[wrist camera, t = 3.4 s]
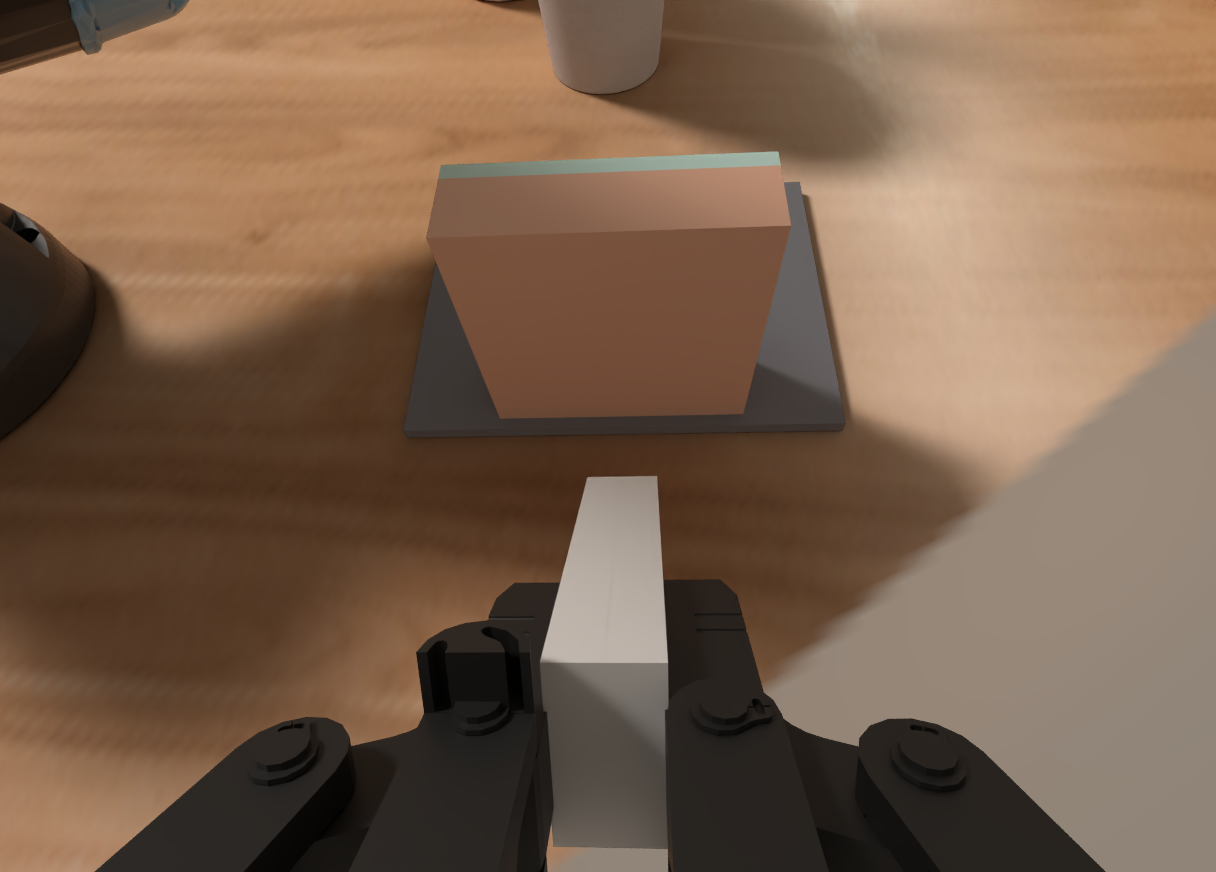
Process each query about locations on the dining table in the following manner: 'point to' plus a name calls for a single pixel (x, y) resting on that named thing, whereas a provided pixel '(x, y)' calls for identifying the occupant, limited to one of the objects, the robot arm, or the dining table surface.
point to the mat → (777, 401)
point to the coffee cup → (603, 42)
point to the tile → (613, 279)
